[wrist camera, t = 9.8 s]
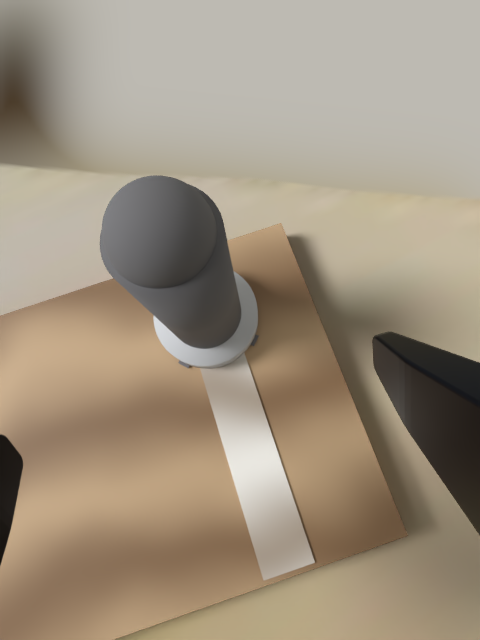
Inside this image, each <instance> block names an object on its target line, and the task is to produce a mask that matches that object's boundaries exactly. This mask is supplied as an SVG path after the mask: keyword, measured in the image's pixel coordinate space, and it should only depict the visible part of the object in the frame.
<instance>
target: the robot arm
mask: <svg viewBox="0 0 480 640" xmlns="http://www.w3.org/2000/svg"><path fill="white" fill-rule="evenodd" d="M372 343H373V362H374V368H375V371H376V373H377V375H378V377H379V379H380V381H381V383H382V384H383V386H384V388H385V390H386V392H387V394H388V396H389V398H390V400H391V401H392V403H393V405H394V407H395V409H396V411H397V413H398V415H399V416H400V418H401V420H402V422H403V424H404V425H405V427H406V429H407V430H408V432H409V433H410V435H411V436H412V438H413V439H414V440H415V442H416V443H417V445H418V446H419V448H420V449H421V451H422V452H423V454H424V455H425V456H426V458H427V459H428V461H429V462H430V464H431V465H432V467H433V468H434V470H435V471H436V472H437V474H438V475H439V477H440V478H441V480H442V481H443V483H444V484H445V485H446V487H447V488H448V490H449V491H450V493H451V494H452V496H453V497H454V499H455V500H456V501H457V503H458V504H459V506H460V507H461V509H462V510H463V512H464V513H465V515H466V516H467V517H468V519H469V520H470V522H471V523H472V525H473V526H474V528H475V529H476V531H477V532H478V533H479V535H480V363H479V362H476V361H473V360H470V359H468V358H465V357H462V356H459V355H456V354H453V353H450V352H448V351H445V350H442V349H439V348H436V347H433V346H431V345H428V344H425V343H422V342H419V341H416V340H414V339H411V338H408V337H405V336H402V335H399V334H397V333H394V332H385V333H382V334H378V335H375V336H374V337H373V341H372ZM22 470H23V459H22V456H21V455H20V453H19V452H18V451H17V450H16V448H15V447H14V446H13V444H12V443H11V442H10V440H9V439H8V438H7V437H6V436H5V435H3V434H0V566H1V562H2V559H3V555H4V552H5V549H6V545H7V542H8V538H9V535H10V531H11V527H12V522H13V517H14V512H15V507H16V502H17V496H18V491H19V486H20V481H21V476H22Z"/></svg>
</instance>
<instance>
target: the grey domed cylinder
mask: <svg viewBox="0 0 480 640" xmlns="http://www.w3.org/2000/svg"><path fill="white" fill-rule="evenodd" d="M100 252H101V256H102V260H103V262H104V265H105V267H106V268H107V270H108V272H109V273H110V274H111V276H112V277H113V278H114V279H115V280H116V281H117V282H118V283H119V284H120V285H122V286H123V287H124V288H125V289H126V290H127V291H128V292H129V293H130V294H131V295H132V296H133V297H134V298H136V299H137V300H138V301H139V302H140V303H141V304H142V305H143V306H144V307H145V308H146V309H147V310H149V311H150V312H151V313H152V314H153V315H154V317H153V320H154V327H155V331H156V334H157V336H158V338H159V340H160V342H161V344H162V345H163V346H164V347H165V349H166V350H167V351H168V352H169V353H170V354H172V355H173V356H174V357H176V358H177V359H179V360H180V361H182V362H184V363H186V364H187V365H190V366H193V367H197V368H205V369H208V368H217V367H221V366H224V365H227V364H229V363H231V362H233V361H235V360H236V359H238V358H239V357H240V356H241V355H242V354H243V353H244V352H245V351H246V350H247V349H248V348H249V346H250V345H251V343H252V341H253V339H254V337H255V334H256V331H257V326H258V309H257V302H256V298H255V296H254V293H253V291H252V289H251V287H250V286H249V284H248V283H247V282H246V281H245V280H244V279H243V278H242V277H241V276H240V275H239V274H237V273H236V272H234V271H233V266H232V262H231V257H230V252H229V247H228V243H227V238H226V233H225V228H224V223H223V219H222V216H221V213H220V212H219V210H218V208H217V206H216V205H215V203H214V202H213V201H212V200H211V198H210V197H209V196H208V195H206V194H205V193H204V192H203V191H201V190H199V189H198V188H196V187H194V186H191V185H189V184H186V183H185V182H183V181H180V180H178V179H175V178H172V177H166V176H147V177H142V178H139V179H136V180H134V181H132V182H130V183H128V184H127V185H125V186H124V187H123V188H121V189H120V190H119V191H118V192H117V193H116V194H115V195H114V197H113V198H112V199H111V201H110V202H109V204H108V206H107V208H106V211H105V214H104V217H103V222H102V230H101V235H100Z"/></svg>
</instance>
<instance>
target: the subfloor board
mask: <svg viewBox="0 0 480 640" xmlns="http://www.w3.org/2000/svg"><path fill="white" fill-rule="evenodd" d="M227 243H228V247H229V252H230V257H231V262H232V266H233V271H234V272H236V273H237V274H239V275H240V276H241V277H242V278H243V279H244V280H245V281H246V282H247V283H248V284H249V286H250V287H251V289H252V291H253V293H254V296H255V298H256V302H257V309H258V326H257V331H256V334H255V337H254V339H253V341H252V343H251V345H250V346H249V348H248V349H247V350H246V351H245V352H244V353H243V354H242V355H241V356H240V357H239V358H238V359H236V360H235V361H233V362H231V363H229V364H227V365H224V366H221V367H217V368H208V369H205V368H197V367H193V366H190V365H187V364H186V363H184V362H182V361H180V360H179V359H177V358H176V357H174V356H173V355H172V354H170V353H169V352H168V351H167V350H166V349H165V347H164V346H163V345H162V344H161V342H160V340H159V338H158V336H157V334H156V331H155V327H154V320H153V317H154V315H153V314H152V313H151V312H150V311H149V310H147V309H146V308H145V307H144V306H143V305H142V304H141V303H140V302H139V301H138V300H137V299H136V298H134V297H133V296H132V295H131V294H130V293H129V292H128V291H127V290H126V289H125V288H124V287H123V286H122V285H120V284H119V283H118V282H117V281H116V280H115V279H114V278H113V279H110V280H107V281H104V282H101V283H98V284H95V285H92V286H89V287H86V288H83V289H80V290H77V291H74V292H71V293H68V294H65V295H62V296H59V297H56V298H53V299H50V300H47V301H44V302H41V303H38V304H35V305H32V306H28V307H25V308H22V309H19V310H16V311H13V312H10V313H7V314H4V315H1V316H0V434H3V435H5V436H6V437H7V438H8V439H9V440H10V442H11V443H12V444H13V446H14V447H15V448H16V450H17V451H18V452H19V453H20V455H21V456H22V459H23V470H22V476H21V481H20V486H19V491H18V496H17V502H16V507H15V512H14V517H13V522H12V527H11V531H10V535H9V538H8V542H7V545H6V549H5V552H4V555H3V559H2V562H1V566H0V640H114V639H117V638H120V637H122V636H125V635H128V634H131V633H134V632H137V631H139V630H142V629H145V628H148V627H151V626H154V625H156V624H159V623H162V622H165V621H168V620H171V619H173V618H176V617H179V616H182V615H185V614H188V613H190V612H193V611H196V610H199V609H202V608H205V607H207V606H210V605H213V604H216V603H219V602H222V601H224V600H227V599H230V598H233V597H236V596H239V595H241V594H244V593H247V592H250V591H253V590H256V589H258V588H261V587H264V586H267V585H270V584H273V583H275V582H278V581H281V580H284V579H287V578H290V577H292V576H295V575H298V574H301V573H304V572H307V571H309V570H312V569H315V568H318V567H321V566H324V565H326V564H329V563H332V562H335V561H338V560H341V559H343V558H346V557H349V556H352V555H355V554H358V553H360V552H363V551H366V550H369V549H372V548H375V547H377V546H380V545H383V544H386V543H389V542H392V541H394V540H397V539H400V538H403V537H406V536H408V535H407V532H406V530H405V527H404V525H403V522H402V520H401V517H400V515H399V512H398V510H397V507H396V505H395V503H394V500H393V498H392V495H391V493H390V490H389V488H388V485H387V483H386V480H385V478H384V475H383V473H382V471H381V468H380V466H379V463H378V461H377V458H376V456H375V453H374V451H373V448H372V446H371V443H370V441H369V438H368V436H367V434H366V431H365V429H364V426H363V424H362V421H361V419H360V416H359V414H358V411H357V409H356V406H355V404H354V401H353V399H352V397H351V394H350V392H349V389H348V387H347V384H346V382H345V379H344V377H343V374H342V372H341V369H340V367H339V364H338V362H337V360H336V357H335V355H334V352H333V350H332V347H331V345H330V342H329V340H328V337H327V335H326V332H325V330H324V327H323V325H322V323H321V320H320V318H319V315H318V313H317V310H316V308H315V305H314V303H313V300H312V298H311V295H310V293H309V290H308V288H307V286H306V283H305V281H304V278H303V276H302V273H301V271H300V268H299V266H298V263H297V261H296V258H295V256H294V253H293V251H292V249H291V246H290V244H289V241H288V239H287V236H286V234H285V231H284V229H283V226H282V224H281V223H280V224H277V225H274V226H271V227H268V228H265V229H262V230H259V231H255V232H252V233H249V234H246V235H243V236H240V237H237V238H234V239H231V240H228V241H227Z"/></svg>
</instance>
